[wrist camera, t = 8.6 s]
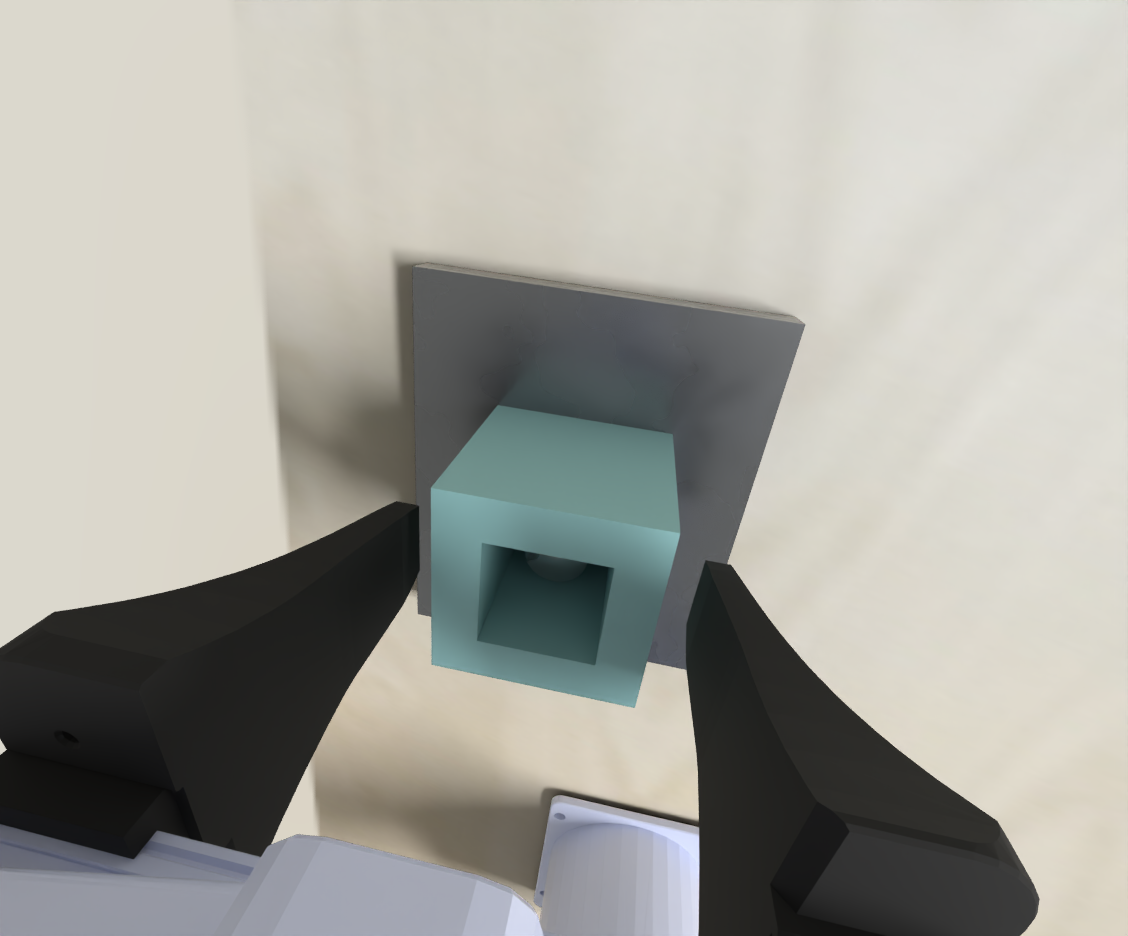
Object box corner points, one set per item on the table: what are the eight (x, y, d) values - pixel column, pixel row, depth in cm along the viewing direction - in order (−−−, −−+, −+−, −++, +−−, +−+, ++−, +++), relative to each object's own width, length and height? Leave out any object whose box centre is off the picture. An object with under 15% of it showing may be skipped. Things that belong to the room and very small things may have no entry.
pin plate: (690, 649, 19) (698, 749, 15) (428, 595, 20) (379, 679, 16) (795, 316, 14) (845, 355, 10) (427, 262, 14) (352, 279, 11)
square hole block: (640, 575, 17) (634, 708, 12) (489, 547, 17) (431, 664, 13) (672, 434, 14) (680, 533, 10) (497, 405, 15) (430, 487, 10)
